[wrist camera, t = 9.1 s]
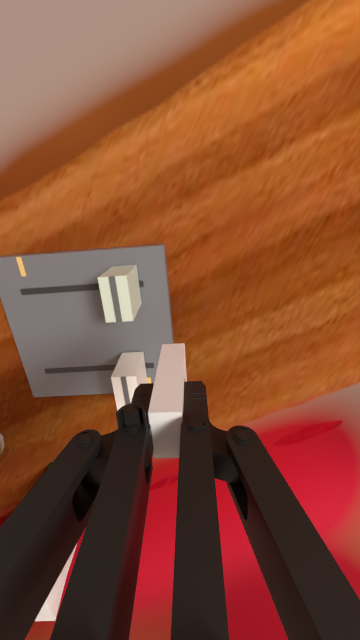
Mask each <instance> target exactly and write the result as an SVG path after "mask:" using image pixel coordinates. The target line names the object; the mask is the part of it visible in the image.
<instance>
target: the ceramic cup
mask: <svg viewBox="0 0 360 640" xmlns="http://www.w3.org/2000/svg"><path fill="white" fill-rule="evenodd" d="M4 446H5V444H4V439H3V435H1V434H0V455H1V453H2V451H3V449H4Z"/></svg>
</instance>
